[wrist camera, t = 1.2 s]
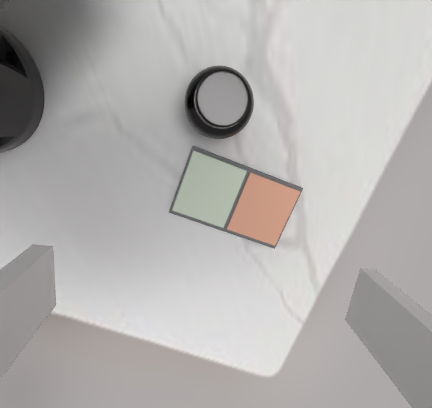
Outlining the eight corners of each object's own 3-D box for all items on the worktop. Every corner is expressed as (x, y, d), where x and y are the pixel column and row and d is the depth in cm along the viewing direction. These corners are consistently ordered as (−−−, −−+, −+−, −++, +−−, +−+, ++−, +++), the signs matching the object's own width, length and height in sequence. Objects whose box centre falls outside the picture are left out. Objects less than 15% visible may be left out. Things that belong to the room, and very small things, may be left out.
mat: (169, 211, 38) (169, 213, 37) (193, 145, 36) (192, 146, 35) (273, 247, 41) (275, 249, 40) (301, 187, 38) (303, 189, 38)
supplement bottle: (245, 131, 36) (267, 134, 24) (193, 141, 36) (191, 148, 24) (237, 75, 34) (256, 48, 23) (182, 85, 34) (174, 63, 22)
